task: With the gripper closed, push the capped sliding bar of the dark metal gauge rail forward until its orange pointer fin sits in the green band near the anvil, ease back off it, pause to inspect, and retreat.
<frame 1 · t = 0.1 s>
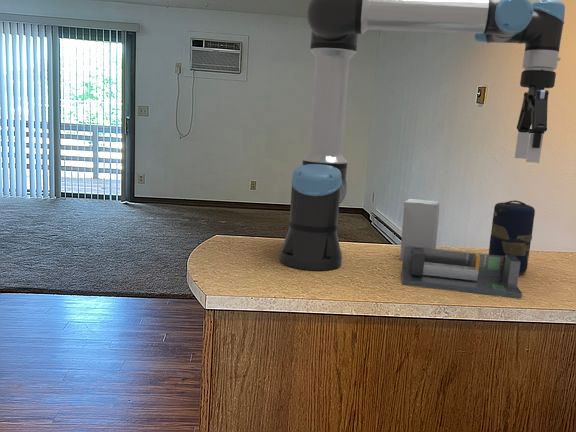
hand: (526, 160, 137), 28 cm above the worktop, fingers open, 13 cm apart
gauge rail: (457, 283, 128), on the worktop
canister: (505, 271, 142), on the worktop
skincare box: (416, 260, 148), on the worktop
capped sliding bar: (445, 263, 128), point 4 cm above the worktop, slide at 0.0 cm
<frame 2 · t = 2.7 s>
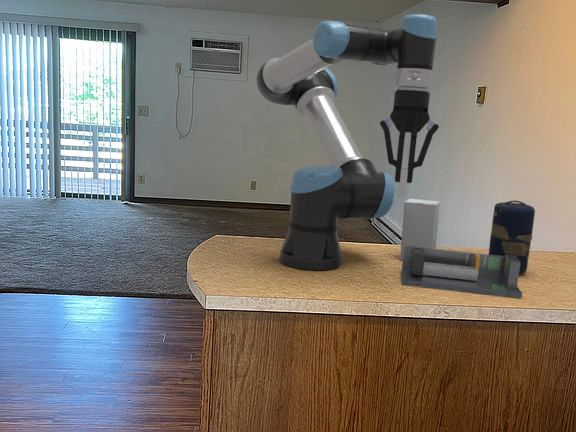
hand: (401, 196, 127), 19 cm above the worktop, fingers closed
nothing on the worktop moved.
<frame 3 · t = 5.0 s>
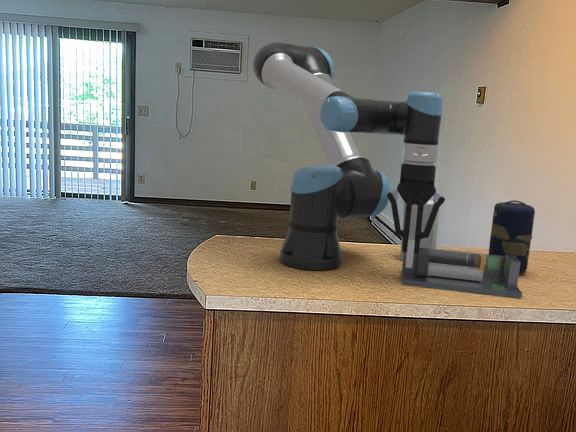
hand: (408, 266, 129), 3 cm above the worktop, fingers closed
capped sliding bar: (449, 264, 127), point 4 cm above the worktop, slide at 1.1 cm, touching gripper
everything else where it was.
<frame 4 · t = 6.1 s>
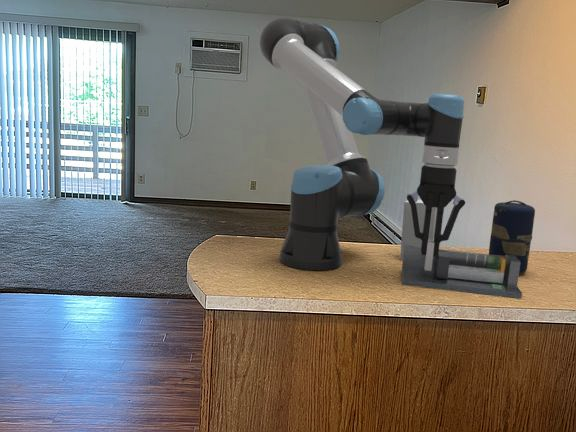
hand: (427, 268, 128), 3 cm above the worktop, fingers closed
capped sliding bar: (469, 266, 127), point 4 cm above the worktop, slide at 5.4 cm, touching gripper
everything else where it was.
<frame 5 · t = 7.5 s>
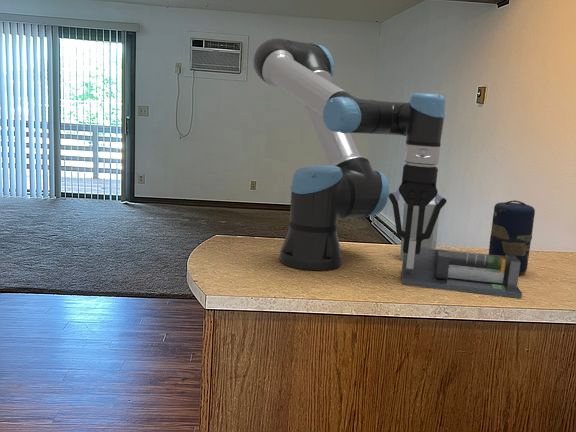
hand: (409, 267, 129), 3 cm above the worktop, fingers closed
capped sliding bar: (469, 266, 127), point 4 cm above the worktop, slide at 5.4 cm
everything else where it was.
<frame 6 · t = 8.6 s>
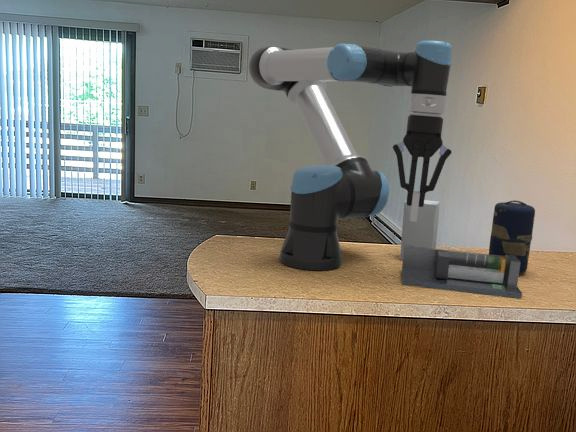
hand: (412, 220, 128), 14 cm above the worktop, fingers closed
nothing on the worktop moved.
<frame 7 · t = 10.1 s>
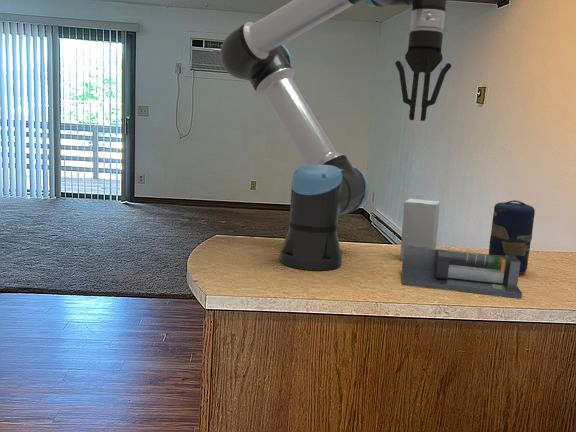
hand: (415, 134, 134), 32 cm above the worktop, fingers closed
nothing on the worktop moved.
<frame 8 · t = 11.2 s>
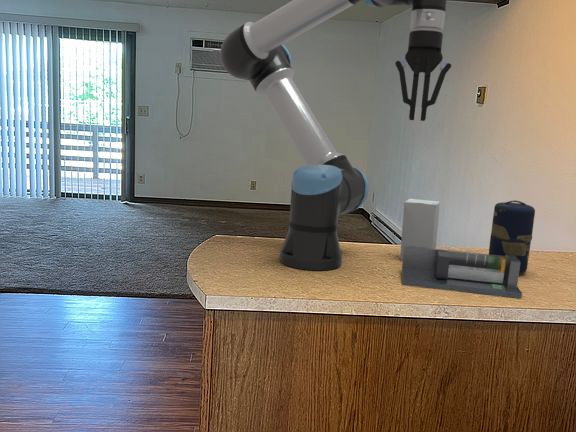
hand: (415, 134, 134), 32 cm above the worktop, fingers closed
nothing on the worktop moved.
at the end: capped sliding bar slide at 5.4 cm; capped sliding bar touching nothing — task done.
